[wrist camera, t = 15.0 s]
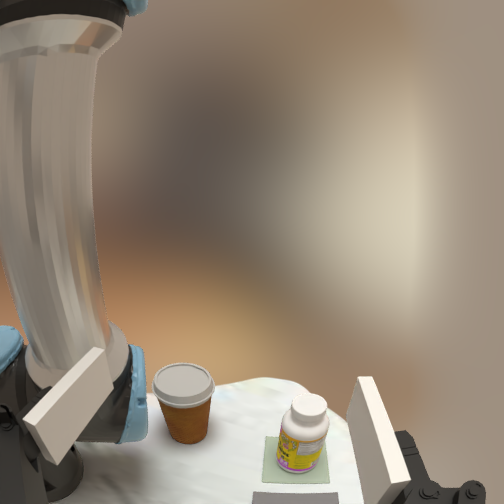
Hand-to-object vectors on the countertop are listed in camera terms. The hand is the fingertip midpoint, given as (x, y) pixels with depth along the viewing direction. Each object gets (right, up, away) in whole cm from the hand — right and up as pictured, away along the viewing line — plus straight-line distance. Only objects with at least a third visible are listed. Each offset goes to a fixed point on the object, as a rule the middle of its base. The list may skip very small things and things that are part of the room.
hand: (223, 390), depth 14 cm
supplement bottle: (+8, -25, +24) cm, 36 cm away
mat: (+8, -25, +24) cm, 36 cm away
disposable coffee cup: (-9, -23, +30) cm, 39 cm away
